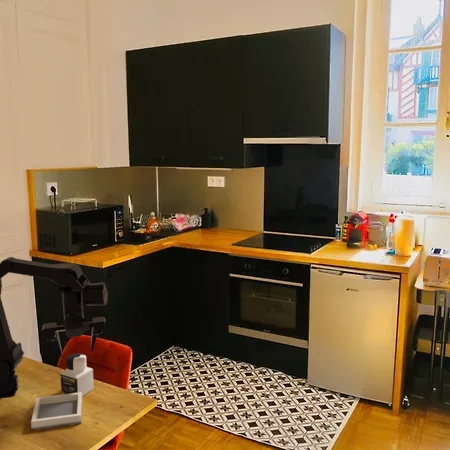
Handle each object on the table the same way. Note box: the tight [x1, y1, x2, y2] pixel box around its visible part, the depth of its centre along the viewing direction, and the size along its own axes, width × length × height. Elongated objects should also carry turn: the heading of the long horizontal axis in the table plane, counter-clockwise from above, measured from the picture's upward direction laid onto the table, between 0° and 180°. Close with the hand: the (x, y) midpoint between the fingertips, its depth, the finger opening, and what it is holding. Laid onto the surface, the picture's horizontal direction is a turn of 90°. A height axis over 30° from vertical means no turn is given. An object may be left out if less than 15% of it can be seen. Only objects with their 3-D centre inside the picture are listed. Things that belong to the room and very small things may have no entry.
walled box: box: [30, 392, 83, 431], centre depth 140 cm, size 13×13×2 cm
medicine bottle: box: [59, 352, 95, 397], centre depth 152 cm, size 7×7×12 cm
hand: (76, 353), depth 150 cm, fingers open, 9 cm apart
